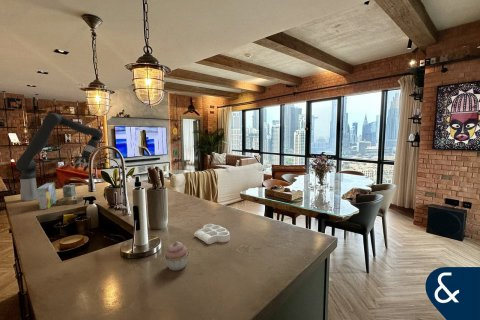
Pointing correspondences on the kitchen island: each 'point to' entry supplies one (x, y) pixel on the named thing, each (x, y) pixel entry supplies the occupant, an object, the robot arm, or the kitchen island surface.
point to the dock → (69, 201)
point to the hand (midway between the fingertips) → (79, 169)
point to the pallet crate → (69, 192)
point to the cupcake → (176, 256)
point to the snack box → (46, 195)
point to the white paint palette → (213, 234)
